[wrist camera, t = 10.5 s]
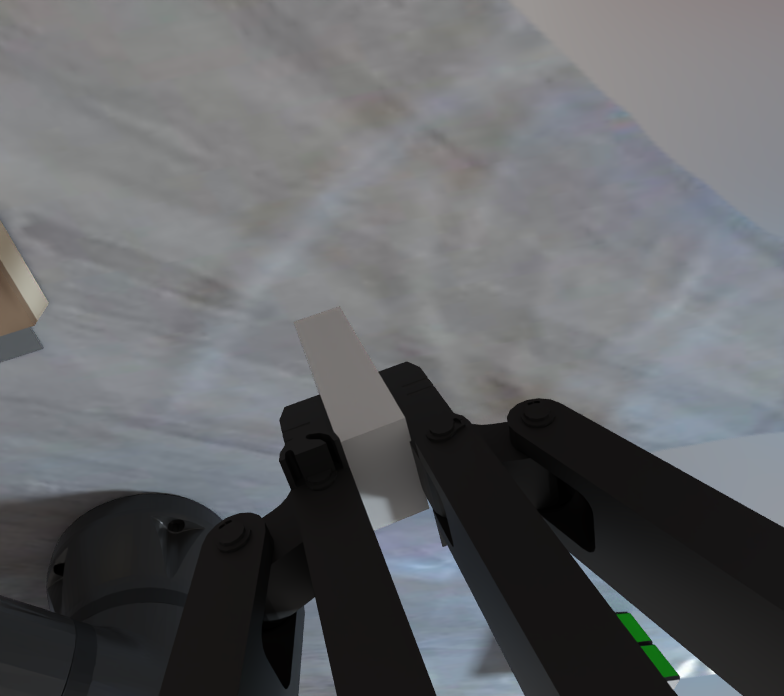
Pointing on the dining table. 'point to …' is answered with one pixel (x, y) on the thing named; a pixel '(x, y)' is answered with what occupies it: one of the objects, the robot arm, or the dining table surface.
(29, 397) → the dining table surface
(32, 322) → the birch plank
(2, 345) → the mat
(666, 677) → the puzzle cube
